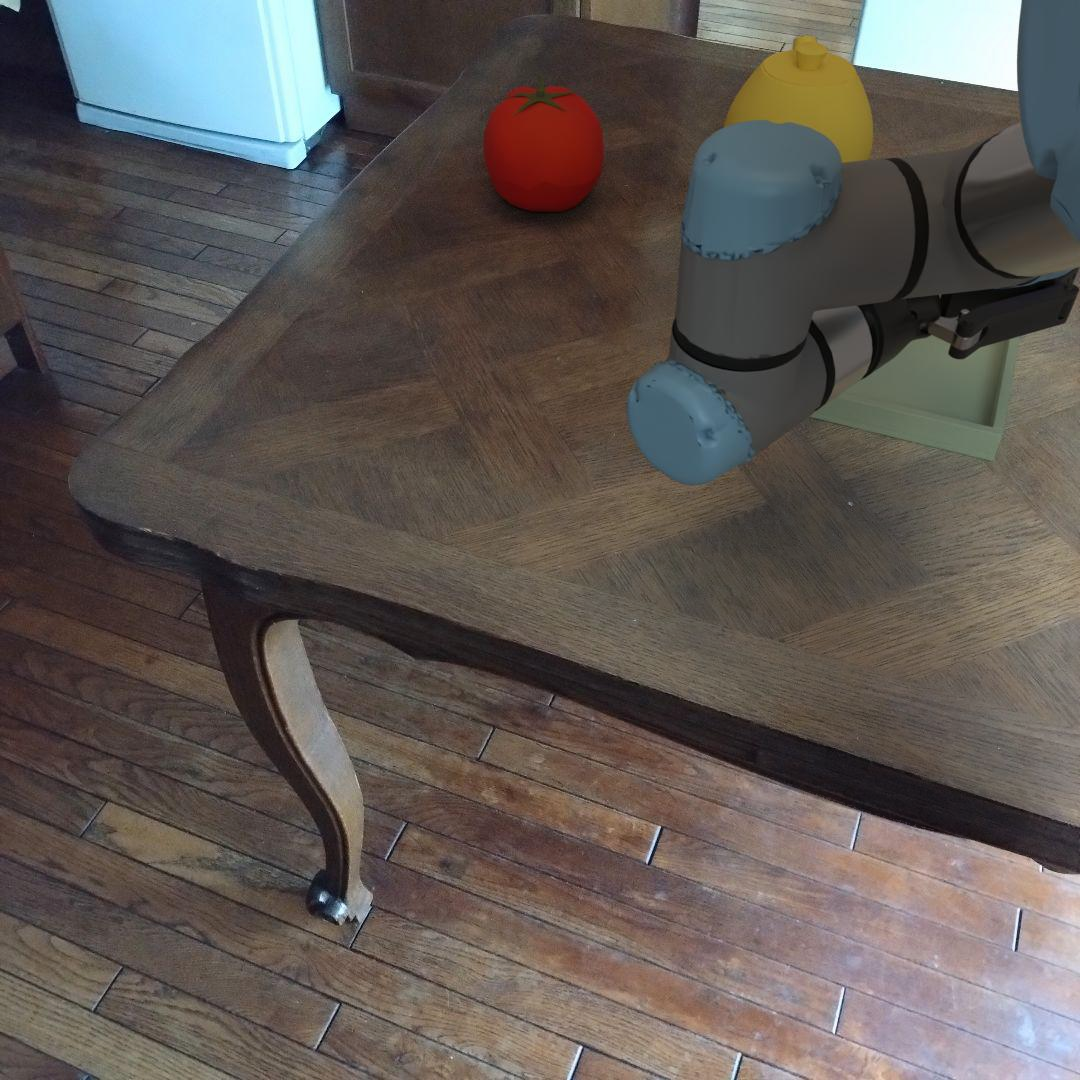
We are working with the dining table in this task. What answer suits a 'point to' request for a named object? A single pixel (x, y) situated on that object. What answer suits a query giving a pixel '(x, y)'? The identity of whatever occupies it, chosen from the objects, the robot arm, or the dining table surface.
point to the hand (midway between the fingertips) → (1009, 216)
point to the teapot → (809, 97)
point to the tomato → (543, 148)
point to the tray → (934, 397)
